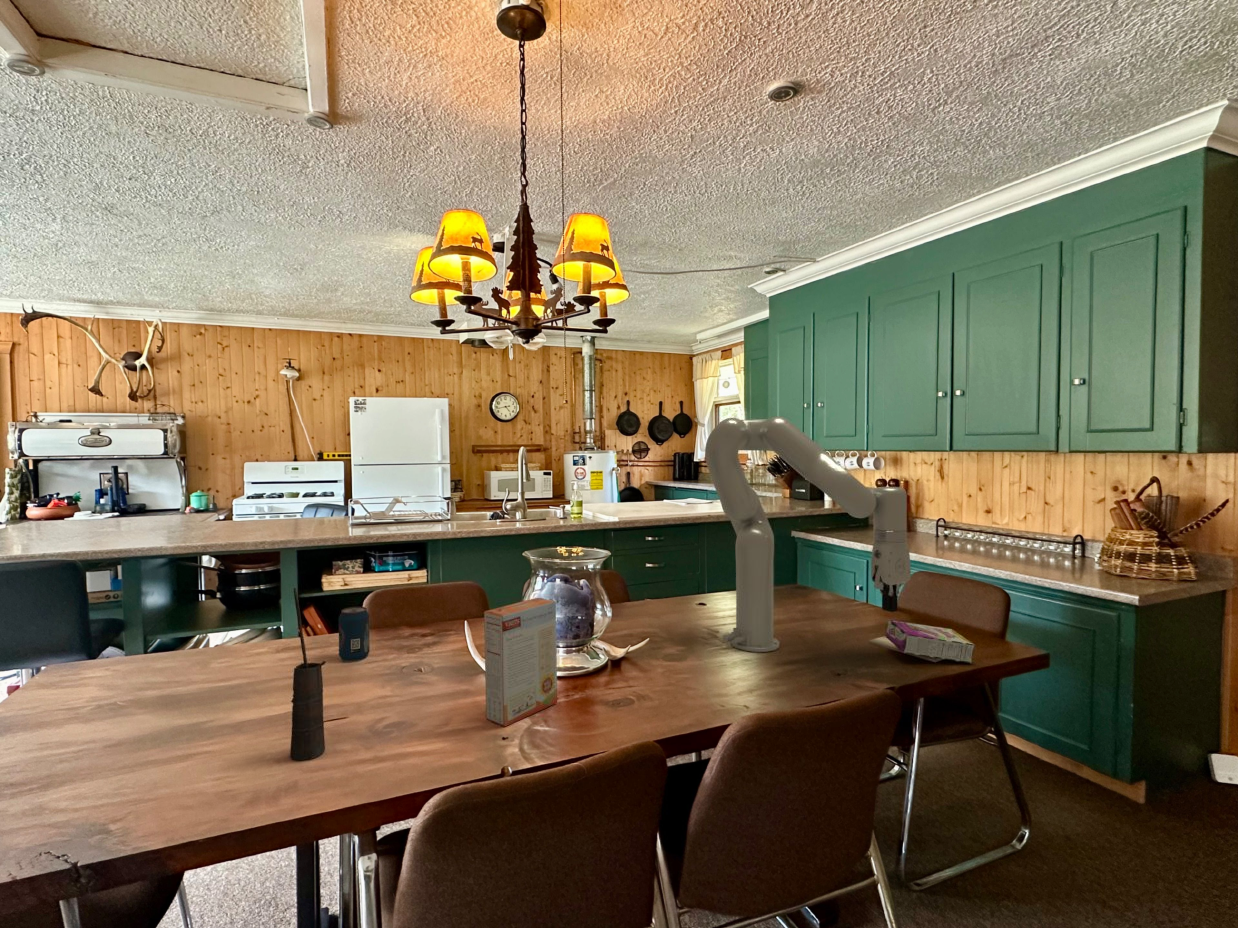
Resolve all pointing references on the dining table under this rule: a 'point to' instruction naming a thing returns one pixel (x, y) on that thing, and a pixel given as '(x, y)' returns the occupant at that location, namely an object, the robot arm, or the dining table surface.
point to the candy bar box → (929, 641)
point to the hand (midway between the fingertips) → (889, 610)
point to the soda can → (354, 634)
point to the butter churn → (307, 705)
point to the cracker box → (520, 660)
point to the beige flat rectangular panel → (888, 644)
